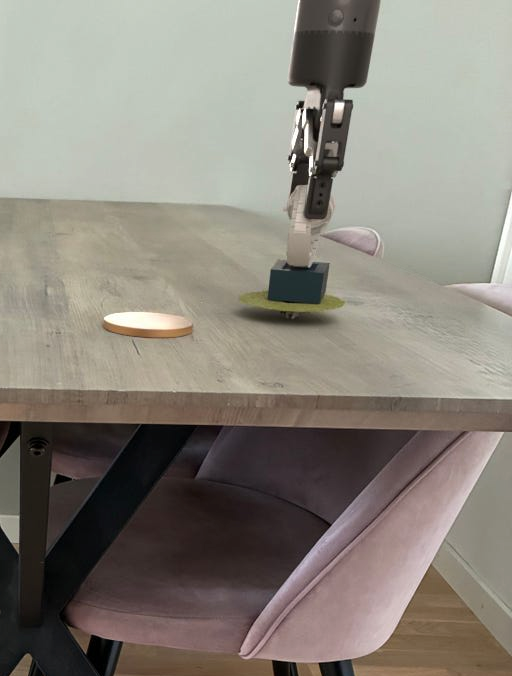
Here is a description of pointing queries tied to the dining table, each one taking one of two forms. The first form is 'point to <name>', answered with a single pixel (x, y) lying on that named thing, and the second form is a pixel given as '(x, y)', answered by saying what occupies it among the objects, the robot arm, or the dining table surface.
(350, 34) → the robot arm
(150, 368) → the dining table surface
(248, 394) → the dining table surface
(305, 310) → the olive green disc
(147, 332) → the coaster
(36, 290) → the dining table surface
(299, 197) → the watch
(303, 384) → the dining table surface
